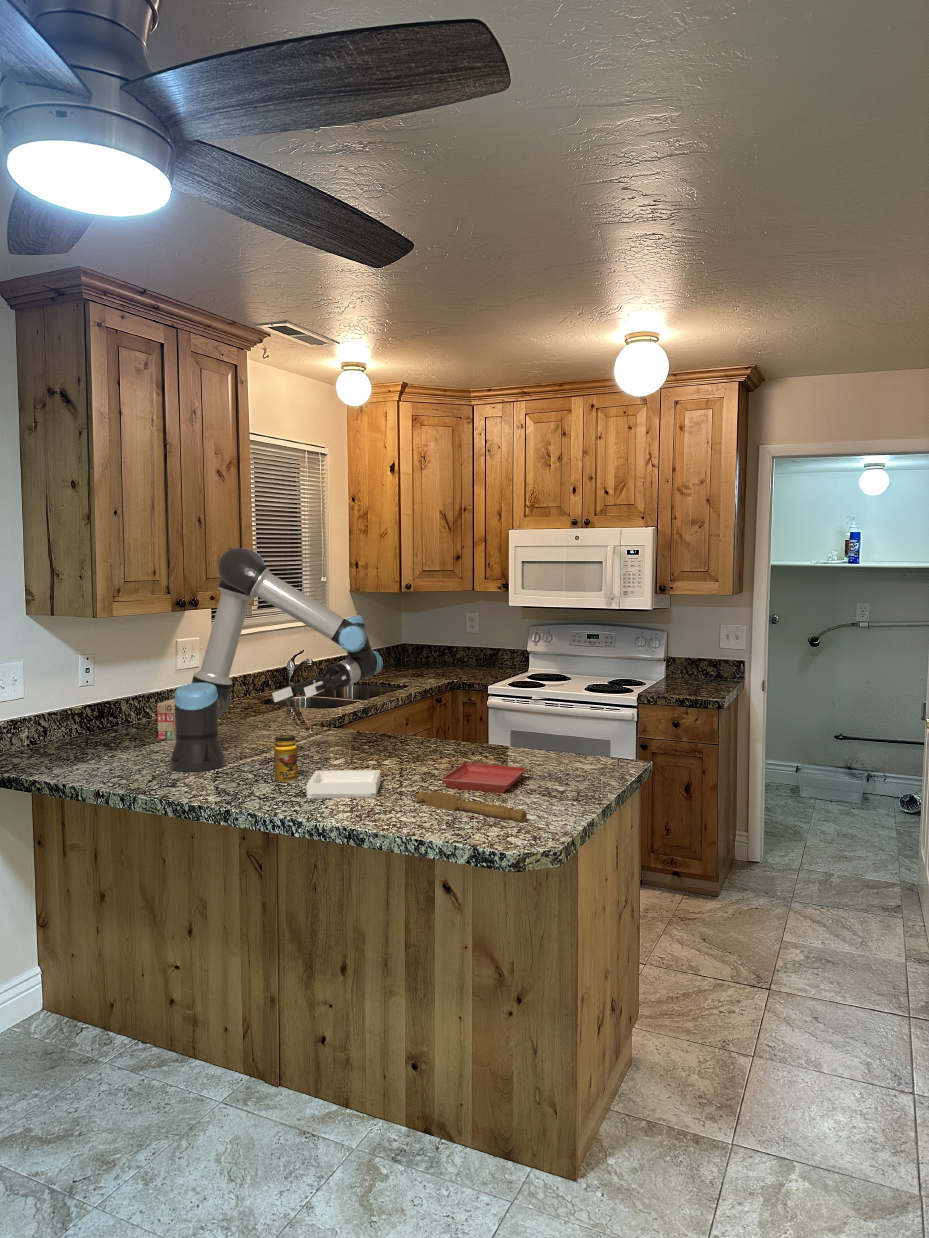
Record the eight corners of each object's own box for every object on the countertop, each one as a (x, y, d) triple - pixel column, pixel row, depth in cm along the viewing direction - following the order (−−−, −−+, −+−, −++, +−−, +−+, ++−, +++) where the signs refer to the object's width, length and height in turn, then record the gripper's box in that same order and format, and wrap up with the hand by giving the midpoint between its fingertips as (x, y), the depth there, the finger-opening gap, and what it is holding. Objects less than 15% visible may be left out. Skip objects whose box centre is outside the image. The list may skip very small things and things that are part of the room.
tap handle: (520, 811, 183) (413, 791, 200) (520, 825, 183) (413, 803, 201) (527, 808, 186) (421, 788, 203) (527, 821, 186) (421, 801, 203)
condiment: (290, 784, 219) (289, 739, 219) (262, 781, 222) (261, 737, 221) (304, 777, 226) (303, 733, 226) (276, 775, 229) (275, 732, 228)
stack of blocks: (190, 727, 301) (190, 694, 301) (206, 728, 300) (205, 694, 299) (157, 739, 280) (156, 703, 280) (174, 740, 279) (173, 703, 279)
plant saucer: (507, 797, 207) (507, 783, 207) (440, 790, 213) (439, 778, 213) (527, 779, 224) (527, 767, 224) (464, 774, 230) (464, 762, 230)
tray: (307, 798, 205) (306, 784, 205) (316, 783, 219) (315, 770, 219) (376, 797, 206) (375, 783, 206) (380, 782, 220) (380, 769, 220)
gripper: (375, 681, 242) (323, 703, 225) (317, 691, 257) (265, 712, 240) (368, 657, 241) (316, 677, 224) (310, 667, 256) (257, 687, 239)
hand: (289, 695), depth 232 cm, fingers open, 13 cm apart
